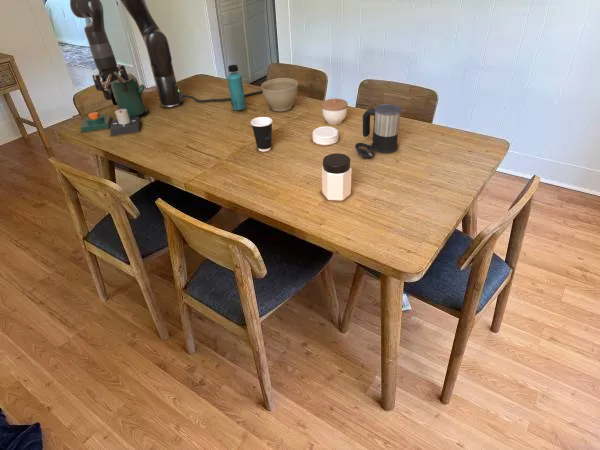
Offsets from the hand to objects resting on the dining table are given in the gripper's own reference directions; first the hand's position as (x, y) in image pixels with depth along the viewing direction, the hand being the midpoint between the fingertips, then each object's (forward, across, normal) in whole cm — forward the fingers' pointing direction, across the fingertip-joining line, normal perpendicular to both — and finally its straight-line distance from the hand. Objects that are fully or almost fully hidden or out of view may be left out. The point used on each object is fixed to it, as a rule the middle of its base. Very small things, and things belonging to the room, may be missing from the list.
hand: (117, 96), depth 167 cm
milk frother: (+16, -24, +103) cm, 107 cm away
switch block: (+14, +3, -16) cm, 22 cm away
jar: (+15, +8, +102) cm, 103 cm away
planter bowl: (+16, -45, +49) cm, 69 cm away
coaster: (+16, -24, +82) cm, 87 cm away
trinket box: (+16, -41, +78) cm, 89 cm away
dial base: (+14, 0, -1) cm, 14 cm away
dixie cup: (+15, -9, +64) cm, 67 cm away
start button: (+11, +3, -16) cm, 19 cm away
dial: (+11, 0, -1) cm, 11 cm away
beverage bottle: (+15, -35, +33) cm, 51 cm away
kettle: (+14, -13, -10) cm, 22 cm away
